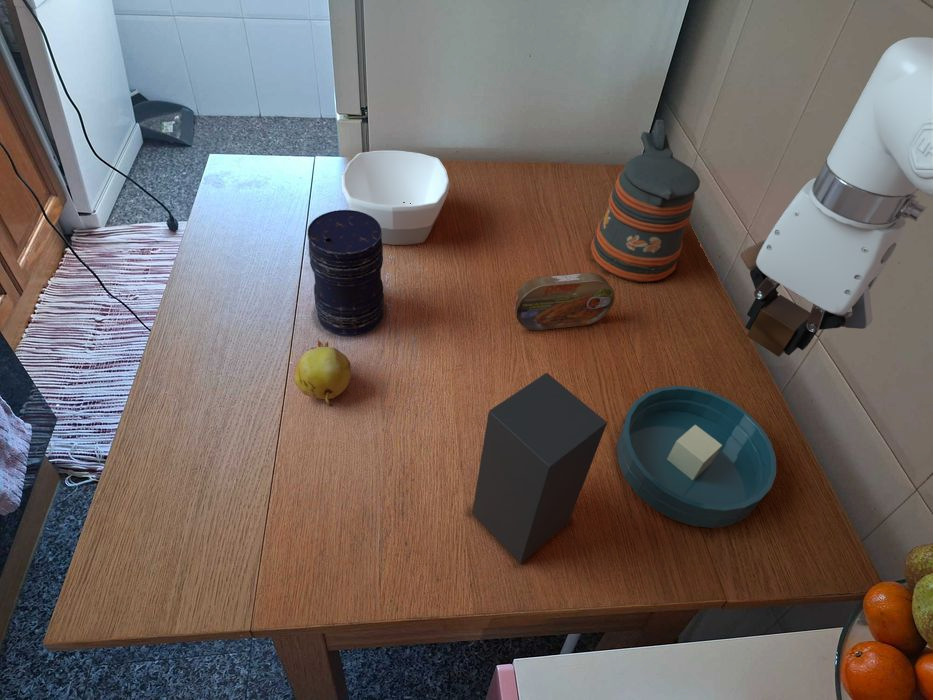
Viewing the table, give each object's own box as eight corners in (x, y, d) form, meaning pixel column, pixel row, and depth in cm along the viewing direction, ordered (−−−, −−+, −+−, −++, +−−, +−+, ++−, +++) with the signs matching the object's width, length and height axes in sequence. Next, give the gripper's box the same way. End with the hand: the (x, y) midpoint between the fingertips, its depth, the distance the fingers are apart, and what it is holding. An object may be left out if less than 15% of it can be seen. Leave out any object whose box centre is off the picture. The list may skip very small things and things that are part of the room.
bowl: (447, 199, 119) (450, 152, 112) (446, 259, 106) (450, 211, 100) (350, 193, 118) (347, 146, 111) (338, 253, 105) (334, 204, 99)
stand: (569, 522, 74) (607, 422, 61) (520, 564, 70) (549, 467, 57) (520, 476, 78) (546, 372, 65) (471, 513, 74) (488, 410, 61)
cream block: (711, 463, 81) (722, 445, 78) (692, 480, 79) (704, 462, 76) (685, 443, 83) (695, 424, 80) (666, 459, 81) (676, 440, 78)
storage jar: (352, 282, 101) (346, 200, 90) (398, 313, 97) (398, 231, 86) (302, 314, 95) (290, 230, 84) (348, 347, 91) (342, 264, 80)
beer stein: (582, 214, 119) (608, 109, 104) (660, 219, 119) (696, 117, 105) (596, 280, 106) (627, 171, 91) (684, 286, 106) (728, 179, 92)
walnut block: (797, 341, 71) (814, 314, 68) (778, 357, 69) (795, 330, 66) (765, 320, 73) (780, 294, 70) (746, 335, 71) (761, 309, 68)
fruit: (358, 386, 79) (352, 328, 85) (300, 382, 76) (298, 323, 83) (346, 420, 83) (342, 363, 90) (291, 418, 81) (291, 359, 87)
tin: (513, 333, 96) (521, 289, 90) (508, 318, 98) (515, 275, 92) (608, 324, 99) (621, 281, 92) (601, 310, 101) (614, 268, 95)
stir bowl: (788, 473, 82) (804, 452, 78) (707, 559, 73) (722, 540, 69) (671, 386, 91) (681, 365, 87) (586, 454, 81) (594, 432, 78)
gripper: (972, 222, 55) (861, 365, 68) (795, 139, 63) (726, 282, 76) (939, 254, 51) (828, 399, 65) (755, 162, 59) (690, 308, 73)
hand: (773, 334), depth 70 cm, fingers closed on walnut block, 4 cm apart
